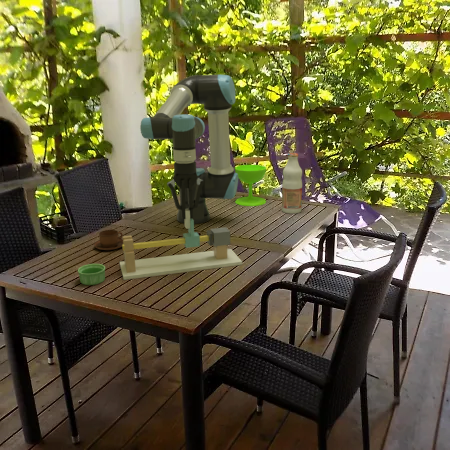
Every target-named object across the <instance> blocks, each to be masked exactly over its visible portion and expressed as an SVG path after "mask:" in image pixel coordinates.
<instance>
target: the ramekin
mask: <svg viewBox="0 0 450 450" xmlns="http://www.w3.org/2000/svg"><path fill="white" fill-rule="evenodd" d="M77 273H78V276H79V281H80V283H81V284H82V285H85V286H95V285H99V284H101V283H103V282H104V281H105V280H106V266H105V264H102V263H101V264H100V263H90V264H84V265H81V266H80V267H78V269H77Z"/></svg>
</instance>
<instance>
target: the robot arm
mask: <svg viewBox="0 0 450 450" xmlns="http://www.w3.org/2000/svg"><path fill="white" fill-rule="evenodd" d="M235 103H236V89H235V83H234V80H233V78H232V76H230V75H227V74H200V75H199V74H195V75H190V76H187V77H185V78H184V79H182V80H180V81H179V82H177V83H176V84H175V85H174V86H173V87H172V88H171V89H170V92H169V96H168V98H167V99H166V100H165V102H163V104H162V105H161V106H160V108H159V109H158V110H157V111H156V113H155V114H154V115H153V117H150V116H148V117H143V118H142V119H141V121H140V128H139V129H140V133H141V136H142V137H143V138H144V139H146V140H172V148H173V150H172V151H173V161H174V163H173V173H174V175H173V177H172V180H170V181H167V183H166V185H167V187H168V188H169V189H170V192H171V195H172V199H173V202H174V205H175V208H176V209H177V214H176V219H177V222H179V223H181V224H184V227H185V229H187V230H188V229H189V228H190V219H191V218H192V219H193V220H194V225H195V224H202V223H206V222H208V221H210V211H209V209H208V205H207V203H206V199H213V200H214V199H219V200H233V199H234V198H235V197H236V194H237V190H238V185H239V178H238V174H237V173H236V172H235V167H233V166H232V165H231V148H230V146H231V145H230V127H229V126H230V123H229V122H230V121H229V120H230V119H229V112H230V110H231V109H232V106H233V105H234V104H235ZM191 105H203V109H204V111H205V112H207V118H208V134H209V136H208V138H209V151H210V152H209V155H210V167H209V168H208V169H207V172H206V170H205V169H204V168H201V167H200V168H199V167H198V168H197V162H196V160H197V157H196V156H197V155H196V154H197V153H196V151H197V150H196V140H197V139H199V138H200V137H202V136H203V134H204V133H205V129H206V126H205V122H204V121H203V120H202V119H201V118H199V117H198V116H194V115H192V114H187V113H186V114H182V113H183V111H184V110H185V109H186V108H188V107H189V106H191ZM175 186H178V187H179V198H178V195H177V192H176V188H175Z"/></svg>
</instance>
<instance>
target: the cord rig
mask: <svg viewBox="0 0 450 450" xmlns="http://www.w3.org/2000/svg"><path fill="white" fill-rule="evenodd" d="M199 236H200V243H201V242H206V243H207V244H208V245H209V246H210V247H211V246H213V250H209V251H200V252H192V253H182V254H174V255H165V256H157V257H148V258H140V259H136V256H135V250H141V249H148V248H158V247H165V246H176V245H184V244H185V238H183V237H180V238H178V237H177V238H172V239H171V238H170V239H162V240H154V241H153V240H152V241H144V242H143V241H142V242H134V239H133V236H132V235H124V236H122V239H123V245H122V247H121V248H122V251H123V259H124V260H123V261H122V260H121V261H119V267H120V271H121V274H122V279H123V281H125V280H132V279H133V280H134V279H142V278H149V277H156V276H157V277H158V276H163V275H170V274H171V275H172V274H178V273H179V274H180V273H187V272H196V271H204V270H209V269H210V270H211V269H218V268H219V269H220V268H228V267H236V266H243V260H242V259H240V257H239V256H238V255H237V254H236V253H235V252H234V251H233V250H232V248H228V246H230V245H231V231H230V229H228V227H226V226H225V227H217V228H210V230H209V229H208V230H206V235H199Z"/></svg>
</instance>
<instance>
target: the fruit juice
mask: <svg viewBox="0 0 450 450" xmlns="http://www.w3.org/2000/svg"><path fill="white" fill-rule="evenodd" d="M287 158H288V159H287V162H286V165H285V167H284V168H283V170H282V176H283V180H282V189H281V199H282V200H281V211H282V212H283V213H284V214H289V215H290V214H291V215H292V214H295V215H296V214H299V213H301V212H302V207H303V206H302V205H303V204H302V203H303V201H302V199H303V198H302V197H303V180H302V176H303V169H302V168H301V166H300V163H299V159H298V158H299V153H296V152H289V153H287Z"/></svg>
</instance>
